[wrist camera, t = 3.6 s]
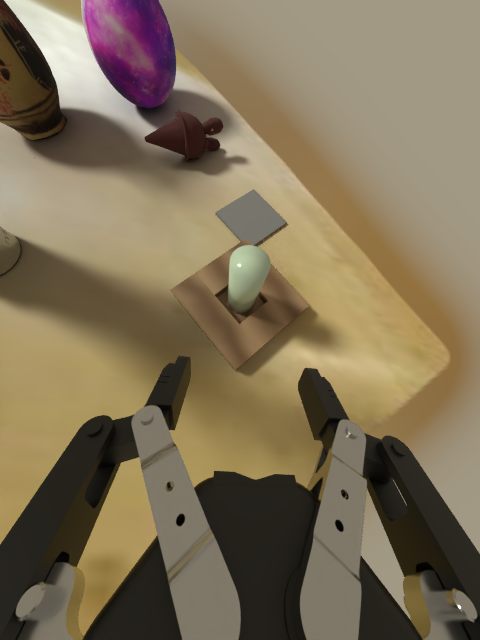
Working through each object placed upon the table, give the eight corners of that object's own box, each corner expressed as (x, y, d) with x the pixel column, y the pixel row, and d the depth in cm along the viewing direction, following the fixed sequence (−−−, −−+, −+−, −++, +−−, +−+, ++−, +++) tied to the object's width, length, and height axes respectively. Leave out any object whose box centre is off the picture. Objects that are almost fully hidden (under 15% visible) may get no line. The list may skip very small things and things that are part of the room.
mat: (248, 249, 34) (249, 248, 33) (215, 214, 35) (215, 212, 35) (286, 223, 36) (286, 222, 36) (253, 191, 37) (253, 189, 37)
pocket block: (234, 369, 28) (235, 370, 26) (174, 295, 30) (170, 290, 28) (303, 309, 32) (309, 305, 30) (245, 246, 34) (246, 238, 32)
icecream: (146, 140, 30) (230, 136, 34) (132, 95, 30) (218, 96, 33) (154, 174, 37) (224, 167, 40) (143, 138, 36) (214, 135, 40)
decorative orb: (196, 110, 42) (181, -25, 27) (140, 135, 39) (89, -3, 24) (158, 73, 44) (125, -70, 29) (101, 95, 41) (33, -56, 26)
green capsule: (239, 319, 30) (248, 289, 18) (222, 299, 31) (221, 259, 19) (258, 303, 31) (278, 266, 19) (242, 284, 32) (252, 238, 20)
